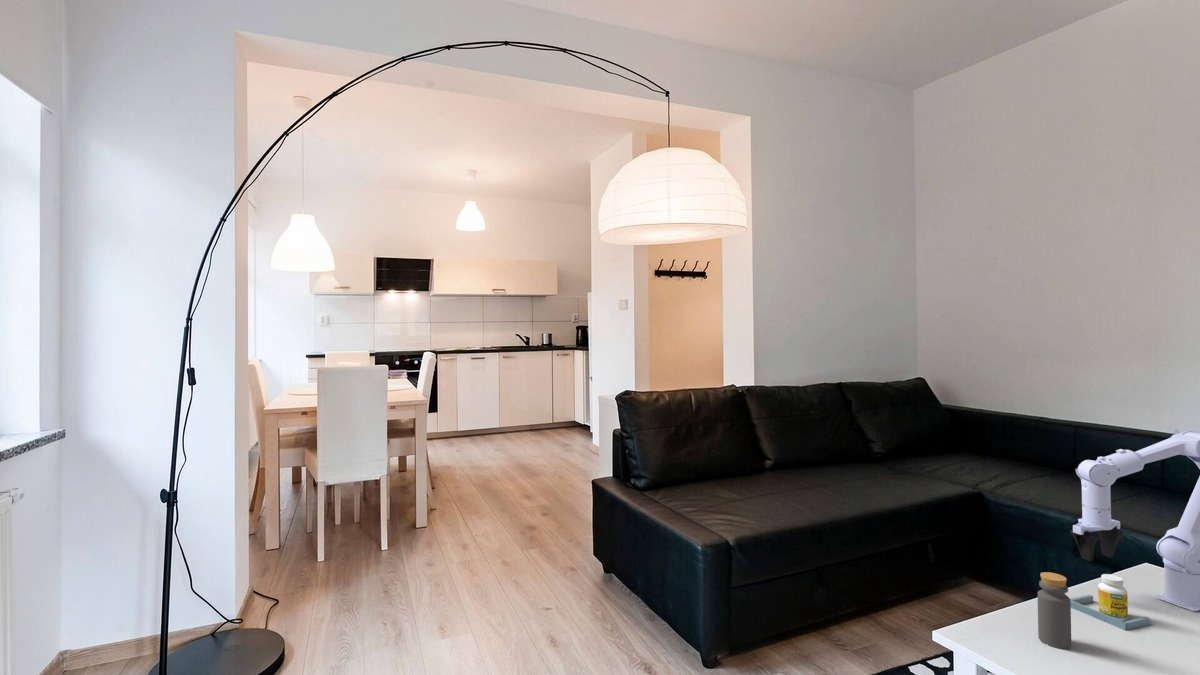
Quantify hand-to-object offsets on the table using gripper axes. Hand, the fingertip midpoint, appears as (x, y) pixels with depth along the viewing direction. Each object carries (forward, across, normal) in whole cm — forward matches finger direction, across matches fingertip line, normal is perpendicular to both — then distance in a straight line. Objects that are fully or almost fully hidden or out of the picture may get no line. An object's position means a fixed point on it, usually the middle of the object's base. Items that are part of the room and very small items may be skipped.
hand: (1097, 557), depth 147 cm
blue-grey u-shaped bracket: (+10, +8, +7) cm, 15 cm away
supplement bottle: (+11, +8, +8) cm, 15 cm away
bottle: (+11, +33, +12) cm, 37 cm away
